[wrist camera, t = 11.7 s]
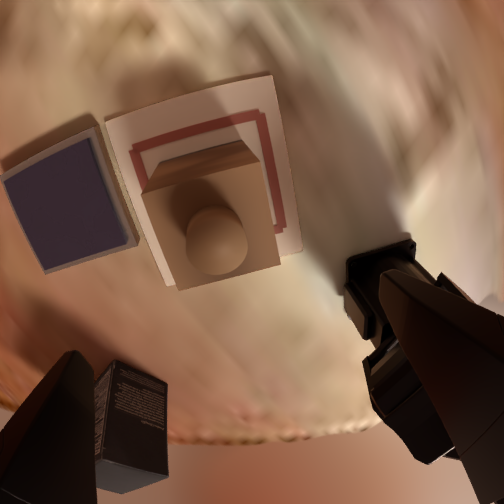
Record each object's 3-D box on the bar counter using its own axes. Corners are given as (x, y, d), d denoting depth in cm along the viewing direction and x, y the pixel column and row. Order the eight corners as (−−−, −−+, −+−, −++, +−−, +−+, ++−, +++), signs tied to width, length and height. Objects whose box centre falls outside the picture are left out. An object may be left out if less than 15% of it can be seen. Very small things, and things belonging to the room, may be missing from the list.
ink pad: (99, 124, 15) (91, 127, 14) (140, 238, 19) (136, 248, 18) (6, 171, 15) (-4, 177, 14) (50, 267, 19) (43, 277, 18)
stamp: (242, 139, 17) (268, 170, 10) (258, 214, 19) (288, 283, 13) (159, 162, 17) (133, 208, 10) (183, 234, 19) (177, 311, 13)
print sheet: (271, 75, 15) (272, 74, 15) (302, 248, 22) (303, 251, 21) (106, 121, 15) (104, 122, 15) (167, 284, 21) (166, 287, 21)
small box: (127, 420, 30) (123, 496, 21) (79, 399, 27) (65, 478, 18) (172, 384, 27) (173, 480, 18) (113, 356, 24) (97, 459, 15)
